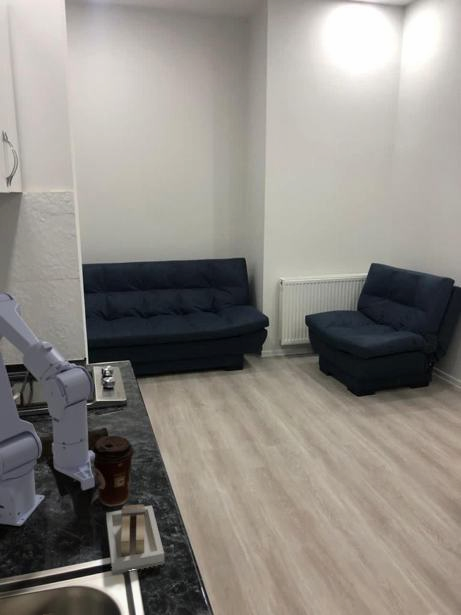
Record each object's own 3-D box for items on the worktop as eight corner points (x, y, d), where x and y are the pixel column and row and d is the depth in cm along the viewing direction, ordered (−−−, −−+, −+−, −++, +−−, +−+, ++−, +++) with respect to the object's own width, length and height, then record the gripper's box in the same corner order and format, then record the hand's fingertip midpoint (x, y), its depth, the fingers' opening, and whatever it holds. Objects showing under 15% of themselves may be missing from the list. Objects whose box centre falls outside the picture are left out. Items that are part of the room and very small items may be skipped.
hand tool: (106, 438, 133) (106, 422, 132) (109, 445, 129) (109, 429, 128) (29, 452, 125) (28, 435, 124) (30, 460, 121) (29, 443, 120)
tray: (164, 564, 90) (164, 553, 89) (112, 575, 87) (111, 563, 86) (151, 515, 103) (151, 505, 102) (106, 523, 100) (106, 512, 99)
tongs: (122, 523, 99) (121, 504, 98) (145, 521, 99) (145, 502, 98) (120, 560, 89) (119, 539, 88) (145, 558, 90) (145, 537, 89)
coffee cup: (92, 512, 103) (90, 455, 100) (92, 489, 111) (89, 435, 107) (135, 506, 105) (135, 450, 102) (132, 484, 113) (131, 431, 110)
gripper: (110, 447, 85) (112, 517, 88) (76, 414, 96) (79, 478, 99) (69, 460, 80) (72, 533, 84) (39, 424, 91) (43, 490, 95)
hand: (74, 504), depth 91 cm, fingers open, 7 cm apart
